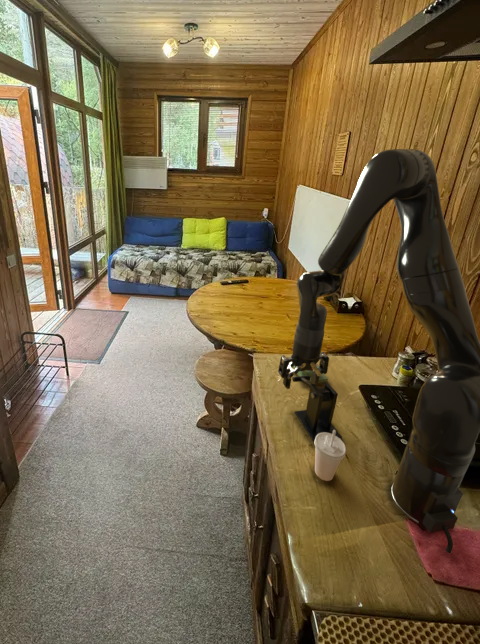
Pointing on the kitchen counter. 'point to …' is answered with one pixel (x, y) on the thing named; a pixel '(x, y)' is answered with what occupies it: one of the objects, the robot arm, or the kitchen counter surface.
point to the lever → (306, 381)
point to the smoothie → (328, 454)
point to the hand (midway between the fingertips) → (300, 385)
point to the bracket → (318, 412)
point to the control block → (309, 372)
